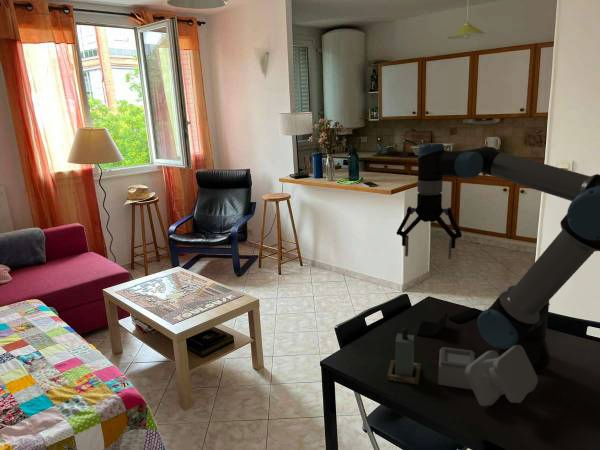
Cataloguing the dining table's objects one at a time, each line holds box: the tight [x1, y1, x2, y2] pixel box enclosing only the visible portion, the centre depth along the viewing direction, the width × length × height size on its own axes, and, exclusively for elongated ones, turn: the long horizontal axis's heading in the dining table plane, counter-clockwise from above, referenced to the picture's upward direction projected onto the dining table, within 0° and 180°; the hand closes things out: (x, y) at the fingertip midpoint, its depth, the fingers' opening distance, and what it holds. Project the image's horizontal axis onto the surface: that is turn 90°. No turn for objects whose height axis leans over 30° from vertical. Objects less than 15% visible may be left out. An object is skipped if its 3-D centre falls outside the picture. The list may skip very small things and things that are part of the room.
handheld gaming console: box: [416, 312, 449, 339], centre depth 160 cm, size 12×7×10 cm
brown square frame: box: [386, 359, 421, 386], centre depth 135 cm, size 9×9×2 cm
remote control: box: [448, 307, 484, 325], centre depth 170 cm, size 5×2×15 cm
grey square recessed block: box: [437, 346, 476, 390], centre depth 132 cm, size 10×10×7 cm
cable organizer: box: [465, 345, 539, 407], centre depth 120 cm, size 15×11×12 cm
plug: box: [394, 327, 415, 377], centre depth 134 cm, size 5×5×15 cm
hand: (427, 256), depth 147 cm, fingers open, 13 cm apart
